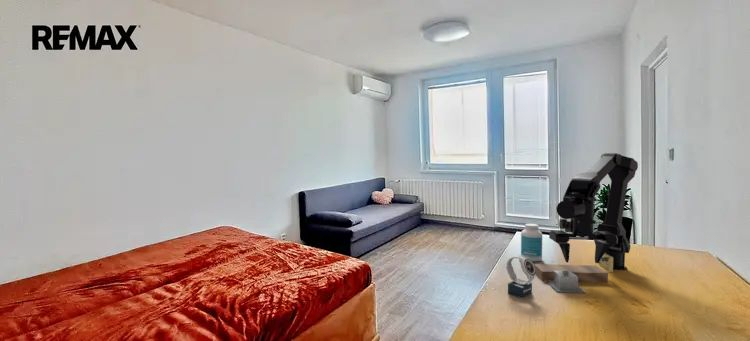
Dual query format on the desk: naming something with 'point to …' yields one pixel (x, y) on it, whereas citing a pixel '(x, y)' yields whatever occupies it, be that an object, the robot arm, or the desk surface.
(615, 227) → the robot arm
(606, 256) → the tan wooden flat block
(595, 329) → the desk surface
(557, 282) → the grey knobbed cube
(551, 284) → the pad
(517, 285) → the watch
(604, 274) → the body
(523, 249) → the pill bottle
